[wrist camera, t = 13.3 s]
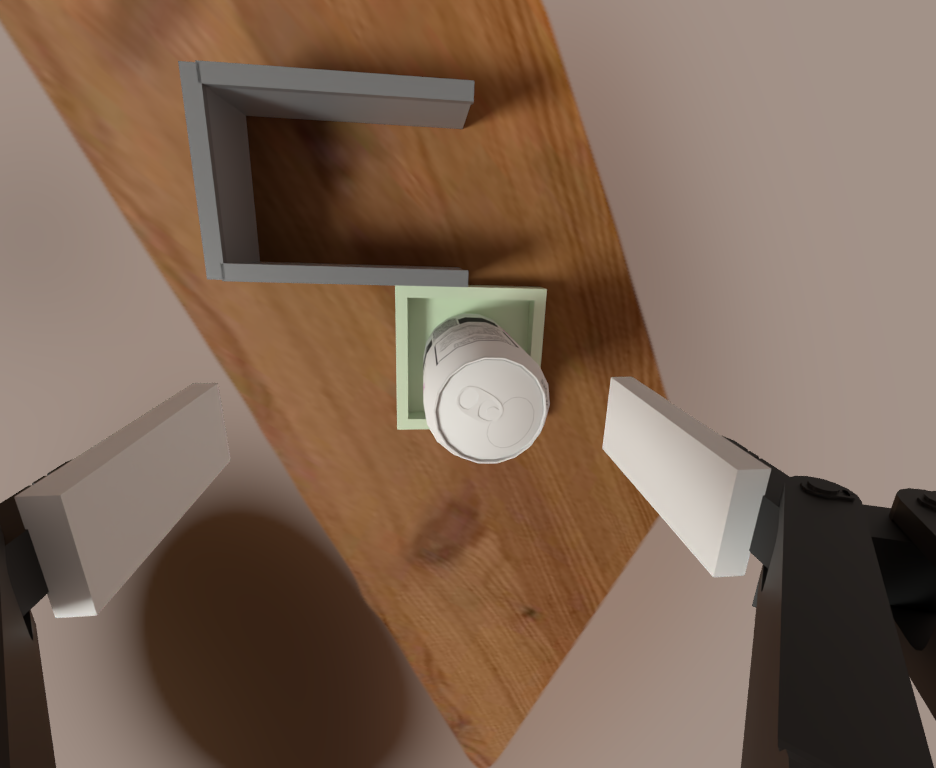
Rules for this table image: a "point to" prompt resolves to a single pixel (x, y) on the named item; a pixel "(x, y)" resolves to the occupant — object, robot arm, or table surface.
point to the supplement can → (482, 390)
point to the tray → (433, 305)
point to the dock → (296, 97)
